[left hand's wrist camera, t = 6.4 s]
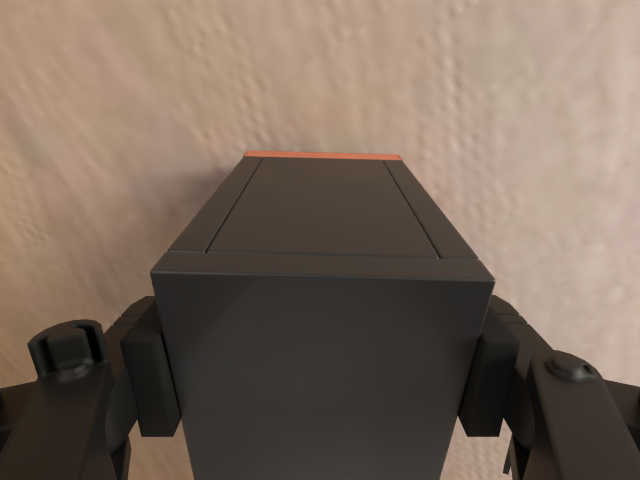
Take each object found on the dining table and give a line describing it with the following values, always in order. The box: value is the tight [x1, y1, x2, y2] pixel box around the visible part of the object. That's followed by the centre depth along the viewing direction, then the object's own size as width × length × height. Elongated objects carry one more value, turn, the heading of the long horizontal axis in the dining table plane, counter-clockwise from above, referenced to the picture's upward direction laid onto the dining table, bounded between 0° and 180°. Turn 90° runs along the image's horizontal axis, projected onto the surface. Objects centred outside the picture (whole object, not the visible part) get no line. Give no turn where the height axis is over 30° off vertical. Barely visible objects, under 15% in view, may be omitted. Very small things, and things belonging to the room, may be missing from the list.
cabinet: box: [150, 151, 495, 480], centre depth 16 cm, size 16×7×11 cm, turn 179°
